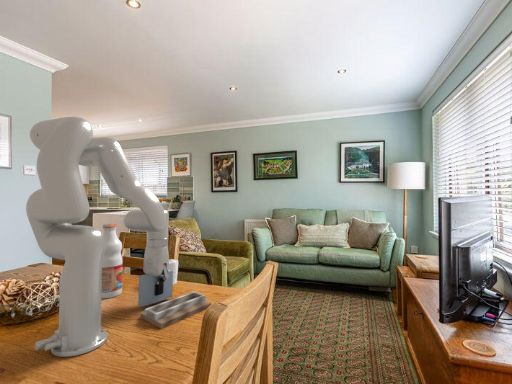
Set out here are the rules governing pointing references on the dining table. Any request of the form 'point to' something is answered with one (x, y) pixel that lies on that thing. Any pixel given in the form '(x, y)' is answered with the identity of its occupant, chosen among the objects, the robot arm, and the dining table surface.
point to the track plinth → (175, 309)
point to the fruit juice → (111, 264)
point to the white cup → (174, 269)
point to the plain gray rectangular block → (153, 289)
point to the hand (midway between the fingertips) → (156, 292)
